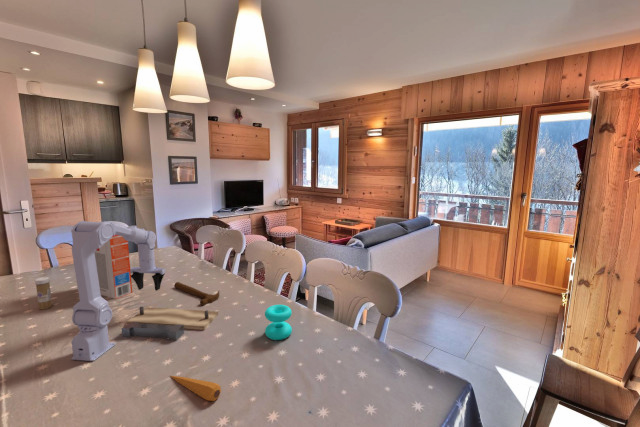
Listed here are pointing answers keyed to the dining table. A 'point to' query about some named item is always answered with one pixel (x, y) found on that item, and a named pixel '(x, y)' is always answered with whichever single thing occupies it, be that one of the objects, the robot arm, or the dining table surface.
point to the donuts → (278, 322)
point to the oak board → (175, 317)
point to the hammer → (197, 293)
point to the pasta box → (114, 268)
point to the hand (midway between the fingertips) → (149, 289)
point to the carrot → (200, 387)
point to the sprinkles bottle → (43, 292)
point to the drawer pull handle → (153, 330)
